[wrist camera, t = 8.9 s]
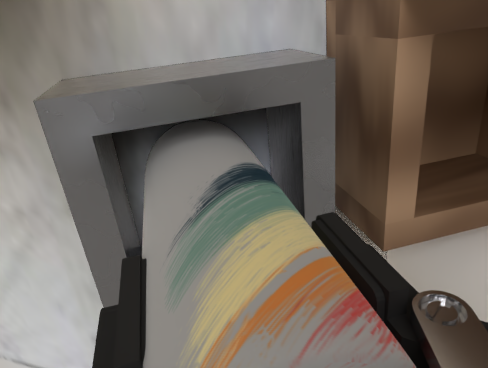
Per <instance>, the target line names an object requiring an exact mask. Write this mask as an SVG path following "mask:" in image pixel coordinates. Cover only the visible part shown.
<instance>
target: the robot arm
mask: <svg viewBox="0 0 488 368" xmlns="http://www.w3.org/2000/svg"><path fill="white" fill-rule="evenodd" d="M311 229H312V230H313V231H314V232H315V234H316V235H317V236H318V238H319V239H320V240H321V241H322V243H323V244H324V245H325V247H326V248H327V249H328V251H329V252H330V253H331V254H332V256H333V257H334V258H335V260H336V261H337V262H338V263H339V265H340V266H341V267H342V269H343V270H344V271H345V273H346V274H347V275H348V276H349V278H350V279H351V280H352V282H353V283H354V284H355V286H356V287H357V288H358V289H359V291H360V292H361V293H362V295H363V296H364V297H365V299H366V300H367V301H368V302H369V304H370V305H371V306H372V308H373V309H374V310H375V312H376V313H377V314H378V316H379V317H380V318H381V320H382V321H383V322H384V324H385V325H386V326H387V328H388V329H389V330H390V332H391V333H392V334H393V336H394V337H395V338H396V340H397V341H398V342H399V344H400V345H401V346H402V348H403V349H404V351H405V352H406V353H407V355H408V356H409V358H410V359H411V361H412V362H413V363H414V365H415V366H416V368H488V322H484V321H481V320H479V318H478V317H477V315H476V314H475V312H474V311H473V309H472V308H471V307H470V306H469V305H468V304H467V303H466V302H465V301H464V300H462V299H461V298H459V297H458V296H455V295H453V294H451V293H448V292H444V291H438V290H429V291H423V292H421V293H419V292H418V291H417V290H416V289H415V288H414V287H413V286H411V285H410V284H409V283H408V282H407V281H406V280H405V279H404V278H403V277H402V276H401V275H400V274H399V273H398V272H397V271H396V270H395V269H394V268H393V267H392V266H391V265H390V264H389V263H388V262H387V261H386V260H385V259H384V258H383V257H382V256H381V255H380V254H379V253H378V252H377V251H376V250H375V249H374V248H373V247H372V246H370V245H368V244H366V243H365V242H364V241H363V240H362V239H361V238H360V237H359V236H358V235H357V234H356V233H355V232H354V231H353V230H352V229H351V228H350V227H349V226H348V225H347V224H346V223H345V222H344V221H343V220H342V219H341V218H340V217H339V216H338V215H337V214H336V213H334V212H330V213H326V214H321V215H317V216H316V220H314V221H312V223H311ZM146 275H147V259H146V258H145V259H142V256H141V255H137V256H132V257H128V258H123V259H122V265H121V278H120V290H119V302H118V304H117V305H113V306H109V307H105V308H102V309H101V312H100V317H99V324H98V331H97V338H96V345H95V352H94V359H93V366H92V368H143V361H144V356H145V349H146Z"/></svg>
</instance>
